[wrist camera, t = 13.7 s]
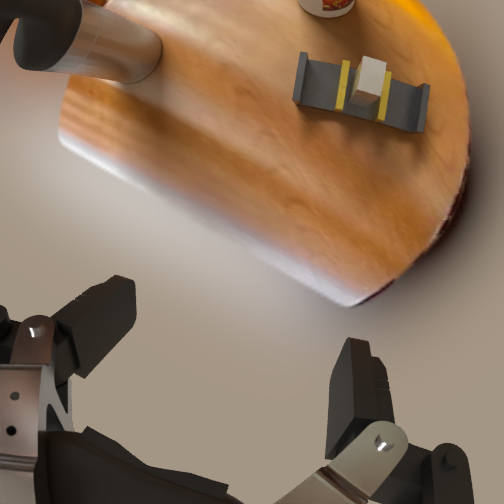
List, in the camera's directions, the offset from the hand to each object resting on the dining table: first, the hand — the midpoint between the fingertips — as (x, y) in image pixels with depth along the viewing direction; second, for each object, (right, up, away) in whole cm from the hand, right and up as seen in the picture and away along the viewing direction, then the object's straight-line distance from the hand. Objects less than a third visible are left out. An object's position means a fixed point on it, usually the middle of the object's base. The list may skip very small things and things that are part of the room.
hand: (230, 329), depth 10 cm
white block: (+13, +22, +20) cm, 32 cm away
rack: (+14, +22, +21) cm, 34 cm away
